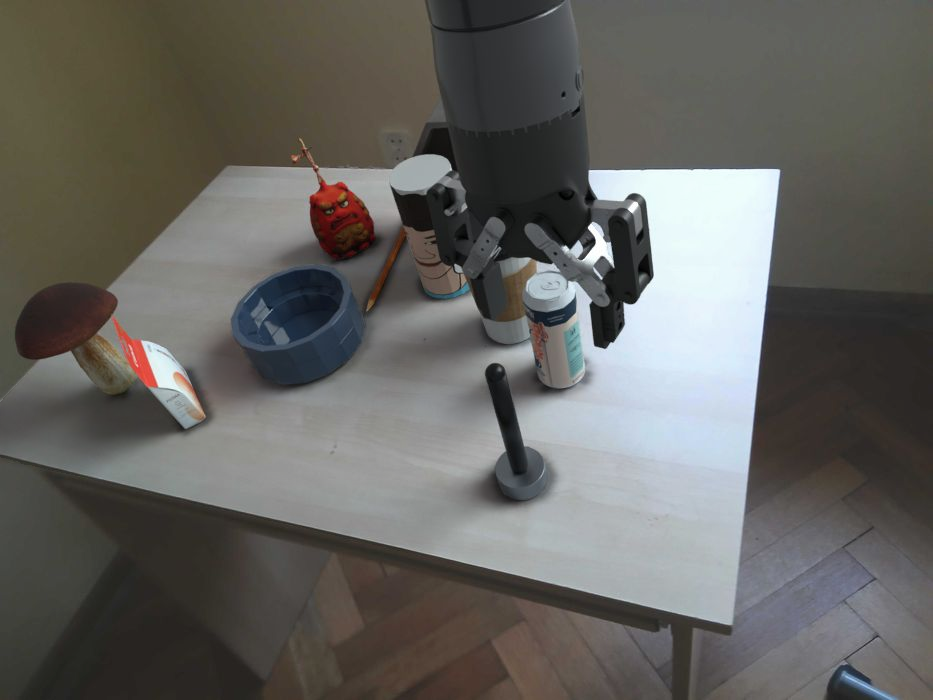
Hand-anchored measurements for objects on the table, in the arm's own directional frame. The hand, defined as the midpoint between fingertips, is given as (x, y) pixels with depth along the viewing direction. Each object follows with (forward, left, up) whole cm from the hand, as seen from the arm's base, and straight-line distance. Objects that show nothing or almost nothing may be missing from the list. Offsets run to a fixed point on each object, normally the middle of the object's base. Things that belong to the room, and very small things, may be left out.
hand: (549, 326), depth 48 cm
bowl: (-20, +30, -20) cm, 41 cm away
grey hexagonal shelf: (+6, +38, -20) cm, 43 cm away
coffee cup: (+2, +21, -20) cm, 29 cm away
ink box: (-35, +28, -20) cm, 49 cm away
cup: (-2, +32, -20) cm, 38 cm away
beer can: (+4, +12, -20) cm, 24 cm away
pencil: (-8, +39, -20) cm, 45 cm away
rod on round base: (-4, +2, -20) cm, 20 cm away
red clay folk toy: (-12, +46, -20) cm, 52 cm away
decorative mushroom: (-42, +34, -20) cm, 58 cm away
